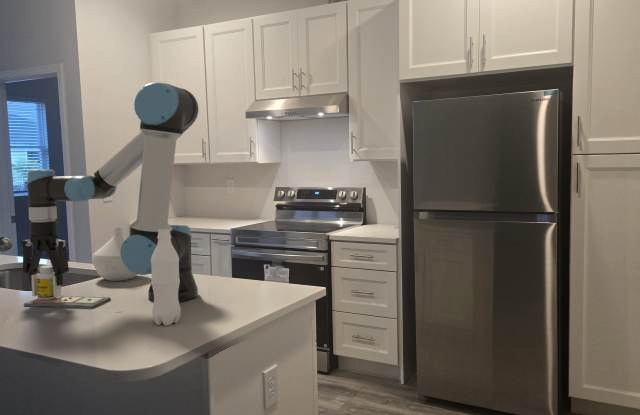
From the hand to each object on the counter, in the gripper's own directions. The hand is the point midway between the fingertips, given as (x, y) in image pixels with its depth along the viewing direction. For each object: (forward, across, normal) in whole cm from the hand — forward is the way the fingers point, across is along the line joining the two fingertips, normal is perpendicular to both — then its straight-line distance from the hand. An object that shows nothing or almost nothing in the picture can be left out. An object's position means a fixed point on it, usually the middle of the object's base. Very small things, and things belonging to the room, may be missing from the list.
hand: (46, 295), depth 164 cm
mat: (+2, -7, 0) cm, 7 cm away
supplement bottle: (+1, 0, 0) cm, 1 cm away
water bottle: (+2, -46, +16) cm, 49 cm away
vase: (+2, -4, -36) cm, 36 cm away
